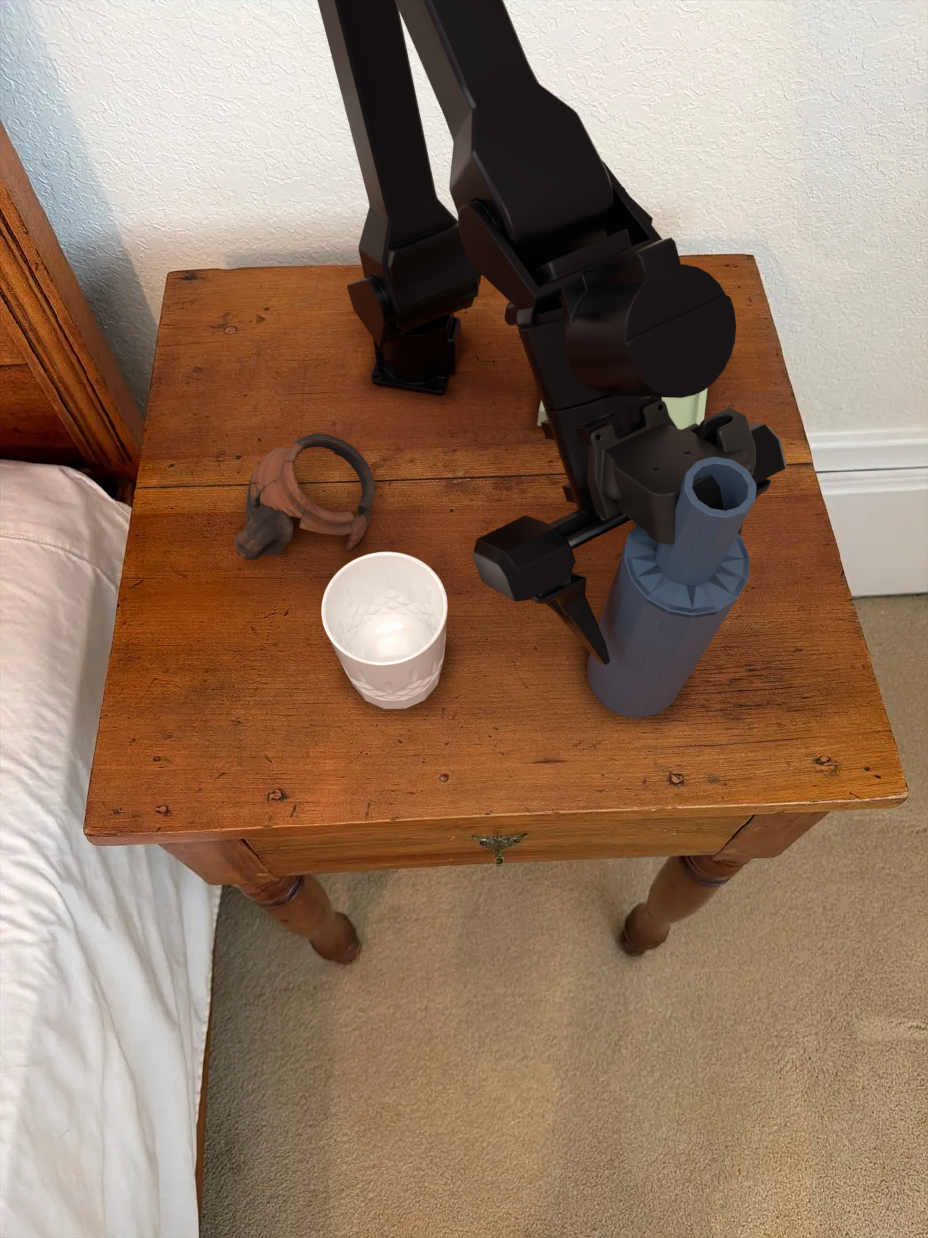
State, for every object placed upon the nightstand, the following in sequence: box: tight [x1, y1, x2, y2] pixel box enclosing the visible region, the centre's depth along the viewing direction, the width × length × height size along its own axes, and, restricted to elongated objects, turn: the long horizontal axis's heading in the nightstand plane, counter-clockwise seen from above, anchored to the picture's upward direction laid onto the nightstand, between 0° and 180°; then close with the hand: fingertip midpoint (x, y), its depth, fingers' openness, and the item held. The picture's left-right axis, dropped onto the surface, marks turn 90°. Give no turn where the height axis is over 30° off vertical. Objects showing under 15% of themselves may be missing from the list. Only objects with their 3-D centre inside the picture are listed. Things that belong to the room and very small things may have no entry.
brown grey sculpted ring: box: [233, 432, 376, 562], centre depth 67 cm, size 12×10×8 cm
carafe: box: [586, 457, 757, 719], centre depth 53 cm, size 7×7×24 cm
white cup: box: [320, 551, 449, 710], centre depth 60 cm, size 8×8×10 cm
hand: (665, 629), depth 55 cm, fingers open, 9 cm apart
